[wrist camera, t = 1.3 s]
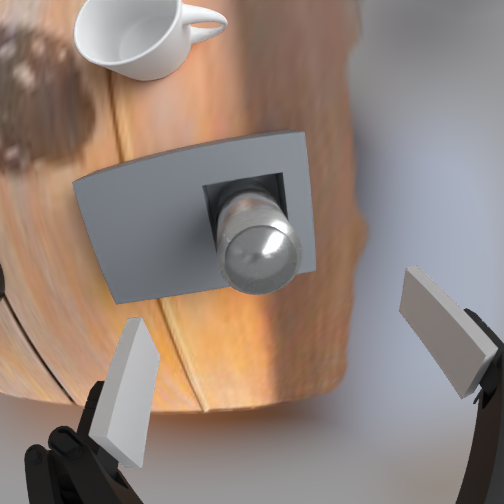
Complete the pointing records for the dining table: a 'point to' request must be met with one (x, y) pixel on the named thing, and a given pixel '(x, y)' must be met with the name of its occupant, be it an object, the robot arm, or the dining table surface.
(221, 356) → the dining table surface
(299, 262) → the silver can
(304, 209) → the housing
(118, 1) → the mug
